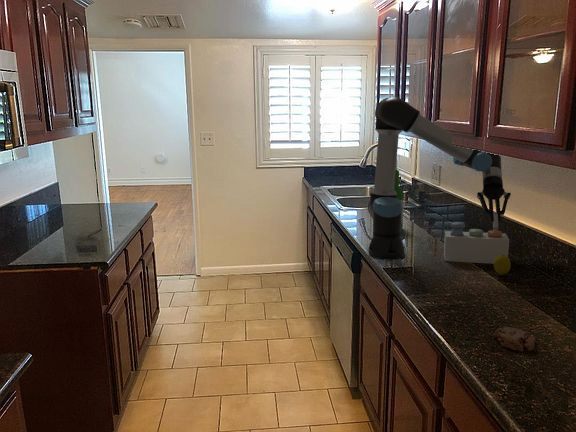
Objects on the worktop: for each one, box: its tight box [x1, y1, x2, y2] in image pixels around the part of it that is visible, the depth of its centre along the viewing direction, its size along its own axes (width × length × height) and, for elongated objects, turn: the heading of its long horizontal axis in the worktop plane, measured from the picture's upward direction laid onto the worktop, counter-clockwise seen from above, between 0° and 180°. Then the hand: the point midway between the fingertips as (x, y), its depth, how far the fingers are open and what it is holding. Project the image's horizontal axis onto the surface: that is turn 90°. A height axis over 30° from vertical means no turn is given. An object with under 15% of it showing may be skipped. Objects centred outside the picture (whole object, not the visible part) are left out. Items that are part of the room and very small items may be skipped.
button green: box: [468, 228, 484, 237], centre depth 183 cm, size 5×5×6 cm
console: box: [443, 230, 510, 265], centre depth 184 cm, size 23×9×10 cm, turn 74°
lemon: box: [493, 254, 512, 276], centre depth 165 cm, size 6×6×8 cm
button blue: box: [450, 221, 466, 236], centre depth 184 cm, size 5×5×6 cm
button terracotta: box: [487, 229, 503, 238], centre depth 181 cm, size 5×5×6 cm
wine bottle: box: [394, 169, 404, 230], centre depth 231 cm, size 8×8×30 cm
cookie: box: [493, 326, 537, 353], centre depth 120 cm, size 10×11×3 cm
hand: (495, 228), depth 180 cm, fingers closed
